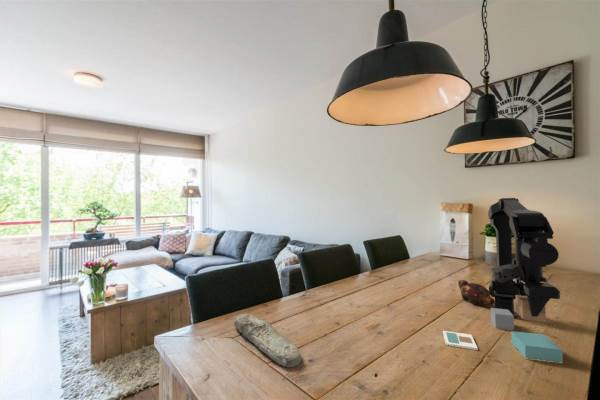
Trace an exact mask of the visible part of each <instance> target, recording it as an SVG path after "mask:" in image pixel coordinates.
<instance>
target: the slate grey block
mask: <svg viewBox="0 0 600 400" xmlns="http://www.w3.org/2000/svg"><path fill="white" fill-rule="evenodd" d="M514 319H515V317H514V316H513V314H512V313H511V312H510V311H509V310H507V309H497V308H492V307H490V322H491V324H492V323H493V324H492V325H493V327H494V326H495V327H494V328H495V329H496V328H498V330H504V329H506V330H505V331H511V330H514V331H515V323H514V322H515V320H514Z"/></svg>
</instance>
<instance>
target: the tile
mask: <svg viewBox="0 0 600 400" xmlns="http://www.w3.org/2000/svg"><path fill="white" fill-rule="evenodd" d="M442 335H443V339H444V342H445V346H448V345H449V347H454V346H455V347H456V348H460V347H461V349H468V350H474V351H478V350H479V349H478V346H477V344H476V341H475V340H474V337H473V334H470V333H462V332H455V331H448V330H442ZM455 347H454V348H455Z"/></svg>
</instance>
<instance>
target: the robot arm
mask: <svg viewBox="0 0 600 400" xmlns="http://www.w3.org/2000/svg"><path fill="white" fill-rule="evenodd" d="M487 211H488V214H487V217H488V220H489V222H490V224H491V226H492V227H493V229H494V230H495V238H496V239H495V241H496V242H495V243H496V244H495V245H496V266H495V267H492V268H491V271H492V275H491V280H490V283H489V286H488V291H489V293H490V297H492V298H494V306H493V307H491V308H497V309H507V310H509V311H510V312H511V313H512V314H513V316H514V318H519V315H518V314H517V313H516V311H515V300H516V296H515V295H521V296H527V297H528V301H529V306H530V310H531V314H532V316H534V317H537V316H538V315H539V313H540V312H541V310H542V309H543V308H544V306H545V307H546V305H547V303H548V302H549V301H550V300H552V299H553V300H559V299H561V291H560V289H558V288H557V287H555V286H554V285H553V284H551V283H550V282H547V278H546V277H544V272H543V271H544V267H545V268H546V267H547V266H549V265H553V264H554V263H556V262H557V261H558V259H559V257H560V256H559V251H558V249H557V247H555V246H554V245H553V244H551V243H549V242H548V240H553V238H554V236H553V235H554V233H555V232H554V230H553V228H552V226H551V224H550V222H549V220H548V218H547V217H546V216H545V215H544V214H543V213H542V212H541V211H537V210H530V209H528V208H526V207H525V206H524V205H523V204H522V203H521V202H520V201H519V198H516V197H503V198H499V199H498V201H497V202H496V203H494V204H491V205H490V206H489V209H488V210H487ZM512 235H513V237H514V238H515V240H514V241H515V245H514V246H515V257H513V249H512V246H513V245H512V241H513V240H512Z"/></svg>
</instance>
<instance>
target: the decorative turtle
mask: <svg viewBox="0 0 600 400" xmlns="http://www.w3.org/2000/svg"><path fill="white" fill-rule="evenodd" d="M457 285H458V288H459V290H460V294H461V298H462V299H463V301H464V302H466V301H470V303H471V304H472V305H477V304H478V303H479V302H480V303H482V304H486V305H491V306H492V305H494V304H495V298H494V297H492V296H491V295H490V293H489V289H487V288H486V287H485V286H484V285H481V284H479V283H476V282H468V281H467V280H465V279H460V280H459V281H458V283H457Z"/></svg>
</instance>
